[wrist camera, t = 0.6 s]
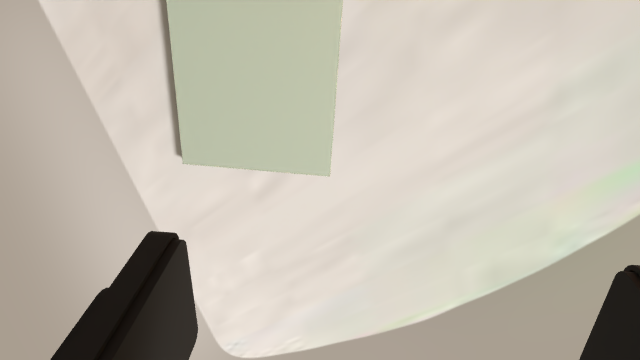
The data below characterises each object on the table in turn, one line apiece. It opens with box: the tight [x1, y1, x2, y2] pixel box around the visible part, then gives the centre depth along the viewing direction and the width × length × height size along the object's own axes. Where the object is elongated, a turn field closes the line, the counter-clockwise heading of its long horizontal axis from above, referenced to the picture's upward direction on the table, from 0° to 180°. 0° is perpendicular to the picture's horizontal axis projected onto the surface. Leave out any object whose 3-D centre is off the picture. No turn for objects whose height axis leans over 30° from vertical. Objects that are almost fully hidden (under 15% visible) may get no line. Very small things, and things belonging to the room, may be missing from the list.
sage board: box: [166, 0, 343, 177], centre depth 34 cm, size 14×12×1 cm
